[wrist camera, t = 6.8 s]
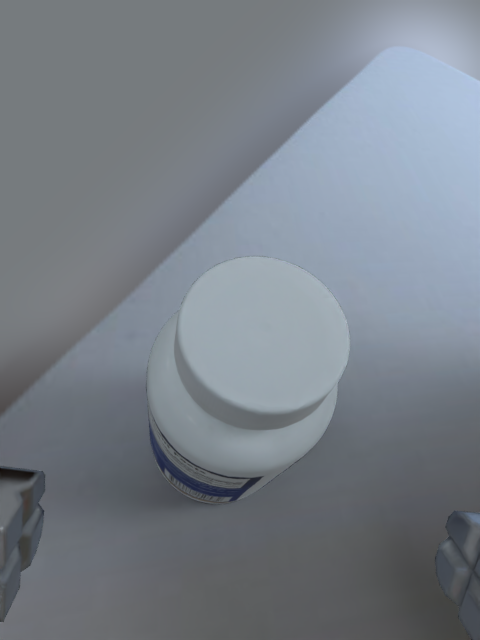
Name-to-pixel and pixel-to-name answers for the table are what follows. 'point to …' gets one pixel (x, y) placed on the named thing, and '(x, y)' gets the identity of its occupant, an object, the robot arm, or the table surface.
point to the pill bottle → (244, 377)
